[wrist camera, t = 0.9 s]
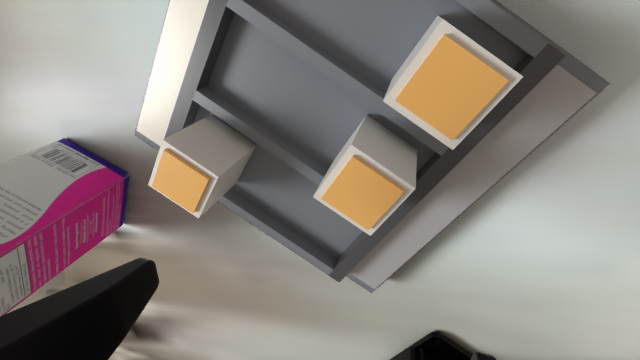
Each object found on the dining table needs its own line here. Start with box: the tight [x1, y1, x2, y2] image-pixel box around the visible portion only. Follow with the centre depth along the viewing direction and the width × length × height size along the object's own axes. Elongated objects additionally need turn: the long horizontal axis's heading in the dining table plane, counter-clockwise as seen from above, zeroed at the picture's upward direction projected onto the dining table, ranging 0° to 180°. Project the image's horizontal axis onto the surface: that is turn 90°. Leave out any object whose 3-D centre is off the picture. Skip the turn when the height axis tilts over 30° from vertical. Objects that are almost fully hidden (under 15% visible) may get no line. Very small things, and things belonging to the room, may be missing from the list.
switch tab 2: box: [313, 114, 417, 236], centre depth 15 cm, size 3×3×4 cm
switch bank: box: [135, 0, 610, 293], centre depth 17 cm, size 18×16×2 cm
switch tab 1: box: [148, 114, 256, 219], centre depth 17 cm, size 3×3×4 cm
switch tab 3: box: [383, 15, 523, 150], centre depth 12 cm, size 3×3×4 cm
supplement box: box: [0, 138, 129, 316], centre depth 21 cm, size 6×6×11 cm
